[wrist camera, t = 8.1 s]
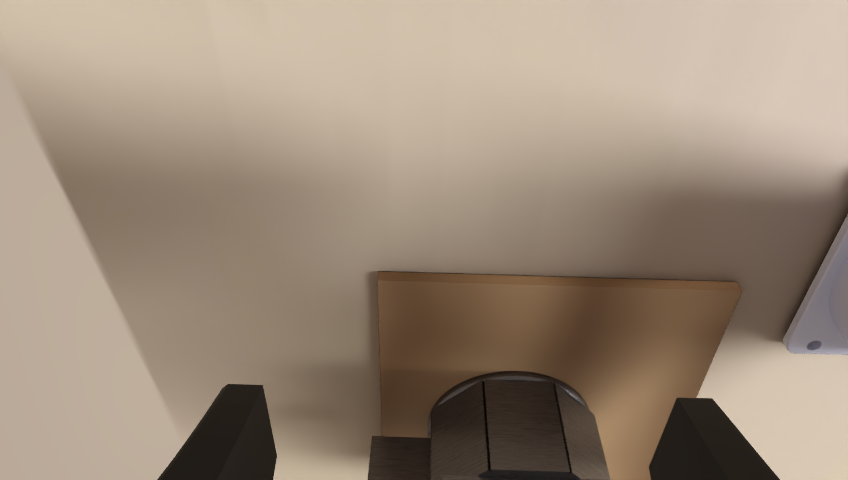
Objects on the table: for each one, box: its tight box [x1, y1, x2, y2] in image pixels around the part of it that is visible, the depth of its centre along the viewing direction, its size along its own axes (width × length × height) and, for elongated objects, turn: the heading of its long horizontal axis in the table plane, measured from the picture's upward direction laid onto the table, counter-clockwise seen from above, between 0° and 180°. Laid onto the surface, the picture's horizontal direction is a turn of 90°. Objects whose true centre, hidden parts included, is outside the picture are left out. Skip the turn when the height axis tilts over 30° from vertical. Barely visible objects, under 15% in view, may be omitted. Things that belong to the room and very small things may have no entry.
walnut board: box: [377, 272, 742, 480], centre depth 27 cm, size 13×18×1 cm
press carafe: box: [368, 371, 610, 480], centre depth 25 cm, size 9×7×5 cm
